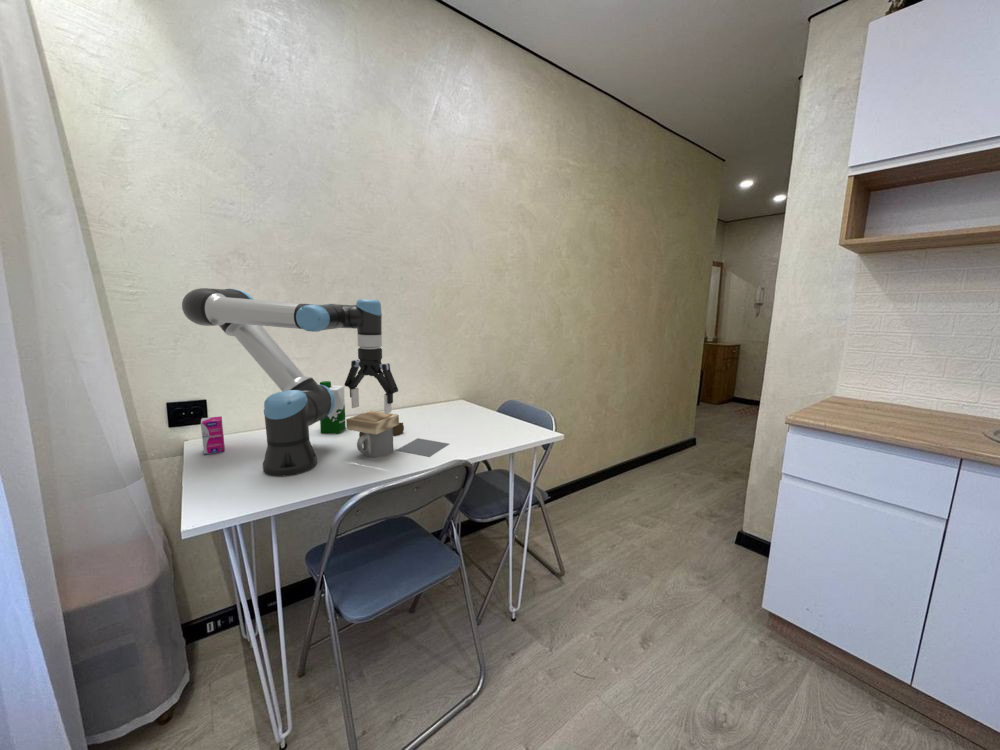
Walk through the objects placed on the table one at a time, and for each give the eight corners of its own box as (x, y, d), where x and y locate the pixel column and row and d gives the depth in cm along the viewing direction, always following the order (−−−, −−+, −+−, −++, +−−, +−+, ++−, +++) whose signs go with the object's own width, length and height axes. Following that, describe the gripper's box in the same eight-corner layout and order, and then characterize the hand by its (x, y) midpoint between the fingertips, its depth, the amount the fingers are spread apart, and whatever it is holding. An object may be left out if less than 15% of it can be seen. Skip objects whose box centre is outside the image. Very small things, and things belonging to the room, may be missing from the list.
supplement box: (203, 455, 133) (199, 422, 130) (204, 449, 137) (201, 418, 135) (224, 452, 136) (221, 420, 134) (225, 446, 141) (221, 415, 138)
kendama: (354, 441, 150) (395, 427, 166) (371, 448, 145) (411, 432, 161) (353, 426, 149) (395, 413, 165) (370, 432, 144) (411, 418, 160)
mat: (429, 458, 134) (429, 457, 134) (395, 452, 139) (395, 450, 139) (449, 445, 147) (449, 443, 147) (417, 439, 152) (417, 438, 152)
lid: (375, 434, 127) (375, 423, 126) (346, 429, 132) (346, 418, 131) (398, 424, 138) (398, 413, 137) (371, 419, 143) (370, 409, 142)
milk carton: (327, 427, 164) (324, 379, 161) (349, 427, 164) (346, 380, 160) (317, 434, 156) (314, 384, 152) (340, 434, 156) (337, 384, 152)
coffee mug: (383, 446, 145) (382, 419, 143) (399, 453, 138) (398, 425, 136) (348, 456, 135) (347, 427, 133) (363, 464, 128) (362, 434, 127)
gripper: (408, 349, 129) (409, 412, 133) (348, 343, 138) (350, 402, 142) (394, 351, 122) (395, 418, 126) (331, 345, 131) (334, 407, 135)
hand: (371, 410), depth 134 cm, fingers open, 13 cm apart
